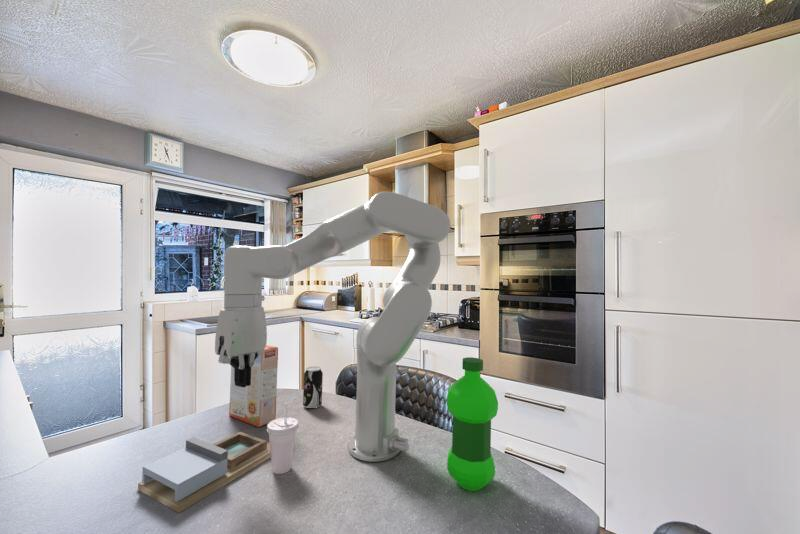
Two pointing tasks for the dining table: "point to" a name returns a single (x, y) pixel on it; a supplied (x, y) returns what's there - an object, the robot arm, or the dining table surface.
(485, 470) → the plastic bottle
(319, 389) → the beverage can
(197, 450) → the lid
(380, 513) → the dining table surface
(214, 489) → the board
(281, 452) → the smoothie
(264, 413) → the cracker box
